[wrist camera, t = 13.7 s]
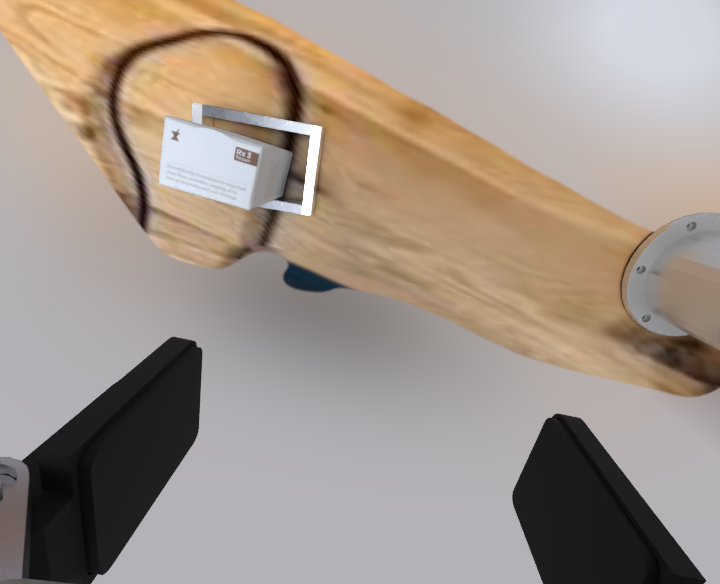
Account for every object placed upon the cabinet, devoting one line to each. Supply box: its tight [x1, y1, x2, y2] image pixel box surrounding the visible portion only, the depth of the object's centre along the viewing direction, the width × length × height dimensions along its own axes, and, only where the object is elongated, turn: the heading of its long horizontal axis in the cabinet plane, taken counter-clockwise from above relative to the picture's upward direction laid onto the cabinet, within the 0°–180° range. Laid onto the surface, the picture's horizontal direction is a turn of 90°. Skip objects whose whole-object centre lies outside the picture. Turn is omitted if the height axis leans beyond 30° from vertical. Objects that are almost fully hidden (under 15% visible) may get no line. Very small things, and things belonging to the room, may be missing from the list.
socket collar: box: [191, 103, 324, 216], centre depth 32 cm, size 11×7×2 cm
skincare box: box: [159, 116, 293, 210], centre depth 28 cm, size 6×4×12 cm
